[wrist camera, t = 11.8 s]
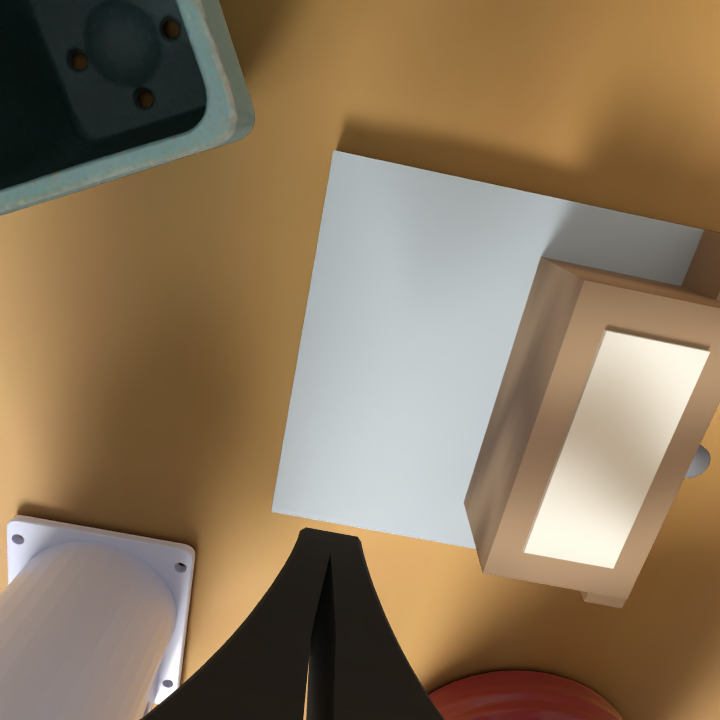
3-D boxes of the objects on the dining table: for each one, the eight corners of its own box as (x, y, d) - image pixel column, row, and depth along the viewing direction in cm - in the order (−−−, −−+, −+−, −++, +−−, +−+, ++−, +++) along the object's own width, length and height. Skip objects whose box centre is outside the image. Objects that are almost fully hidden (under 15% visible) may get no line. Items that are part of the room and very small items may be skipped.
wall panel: (591, 555, 24) (633, 629, 20) (275, 497, 23) (256, 563, 19) (728, 235, 19) (816, 252, 15) (335, 150, 18) (326, 146, 14)
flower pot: (303, 150, 18) (245, 137, 10) (69, 222, 19) (-167, 267, 11) (209, -167, 16) (15, -564, 7) (-60, -63, 16) (-514, -302, 8)
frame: (583, 524, 22) (629, 602, 18) (463, 502, 22) (483, 576, 18) (681, 285, 19) (763, 317, 15) (540, 256, 18) (586, 281, 14)
